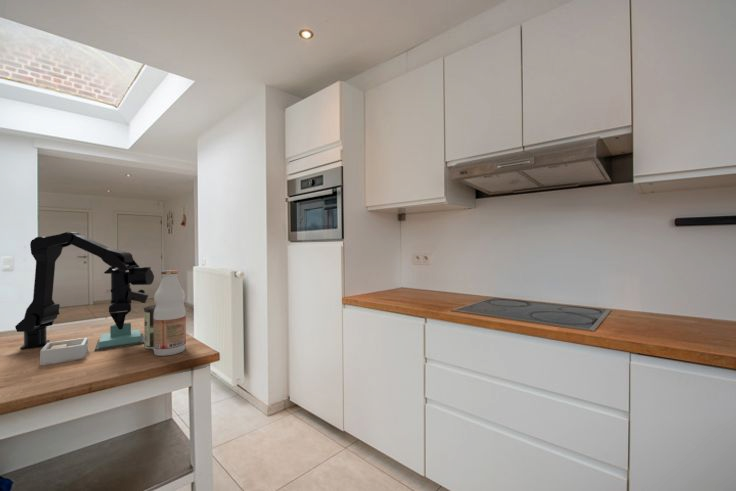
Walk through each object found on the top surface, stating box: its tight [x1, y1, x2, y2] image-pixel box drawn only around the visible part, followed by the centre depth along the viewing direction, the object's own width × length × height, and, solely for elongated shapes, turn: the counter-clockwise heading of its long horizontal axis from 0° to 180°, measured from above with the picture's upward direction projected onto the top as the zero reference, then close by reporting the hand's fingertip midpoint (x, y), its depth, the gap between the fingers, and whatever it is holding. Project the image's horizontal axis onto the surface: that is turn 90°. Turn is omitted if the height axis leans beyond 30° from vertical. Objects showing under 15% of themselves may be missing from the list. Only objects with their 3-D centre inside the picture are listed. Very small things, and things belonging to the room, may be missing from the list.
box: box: [39, 337, 89, 366], centre depth 103 cm, size 10×10×4 cm
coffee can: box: [143, 304, 156, 350], centre depth 116 cm, size 10×10×14 cm
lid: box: [98, 322, 141, 348], centre depth 119 cm, size 12×12×6 cm
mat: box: [94, 332, 144, 352], centre depth 119 cm, size 14×14×1 cm
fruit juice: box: [153, 269, 187, 357], centre depth 108 cm, size 9×9×28 cm
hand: (121, 326), depth 119 cm, fingers open, 9 cm apart
